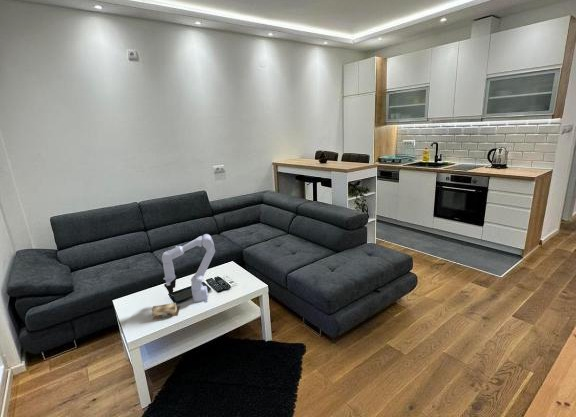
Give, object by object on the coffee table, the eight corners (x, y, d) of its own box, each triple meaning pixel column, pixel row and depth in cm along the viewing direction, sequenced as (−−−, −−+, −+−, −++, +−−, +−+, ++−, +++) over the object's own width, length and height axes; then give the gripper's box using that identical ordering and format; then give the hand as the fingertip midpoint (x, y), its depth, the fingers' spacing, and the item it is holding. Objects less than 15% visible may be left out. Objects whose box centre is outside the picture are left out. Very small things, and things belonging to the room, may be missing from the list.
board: (180, 306, 191) (180, 305, 191) (177, 316, 181) (177, 315, 181) (157, 310, 189) (157, 309, 189) (153, 320, 179) (152, 319, 178)
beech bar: (176, 308, 184) (175, 302, 183) (175, 312, 180) (174, 306, 179) (154, 312, 182) (153, 306, 181) (152, 316, 178) (151, 310, 177)
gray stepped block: (171, 313, 184) (170, 309, 183) (169, 316, 180) (169, 313, 179) (162, 314, 183) (161, 311, 182) (160, 318, 179) (160, 314, 179)
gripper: (164, 266, 193) (168, 286, 197) (159, 276, 179) (163, 297, 183) (176, 265, 194) (179, 284, 198) (172, 275, 181) (175, 295, 184)
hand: (172, 290), depth 190 cm, fingers open, 7 cm apart
